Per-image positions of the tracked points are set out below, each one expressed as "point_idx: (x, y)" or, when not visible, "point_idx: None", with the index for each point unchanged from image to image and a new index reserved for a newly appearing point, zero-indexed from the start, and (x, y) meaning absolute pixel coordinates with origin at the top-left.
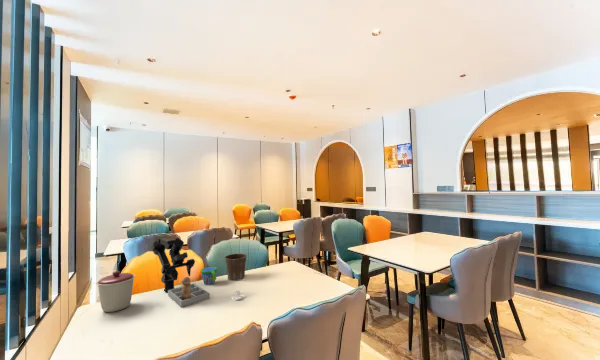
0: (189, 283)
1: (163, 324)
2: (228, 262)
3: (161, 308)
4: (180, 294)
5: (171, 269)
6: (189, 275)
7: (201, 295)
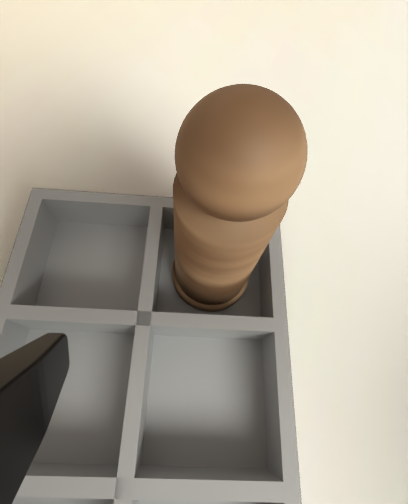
0: (180, 196)
1: (388, 122)
2: None
3: (387, 333)
4: (199, 472)
5: None
6: (67, 338)
7: (108, 194)
